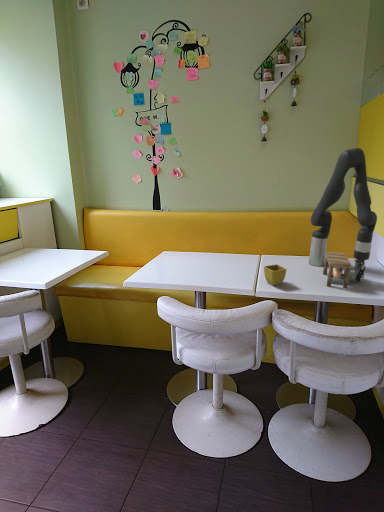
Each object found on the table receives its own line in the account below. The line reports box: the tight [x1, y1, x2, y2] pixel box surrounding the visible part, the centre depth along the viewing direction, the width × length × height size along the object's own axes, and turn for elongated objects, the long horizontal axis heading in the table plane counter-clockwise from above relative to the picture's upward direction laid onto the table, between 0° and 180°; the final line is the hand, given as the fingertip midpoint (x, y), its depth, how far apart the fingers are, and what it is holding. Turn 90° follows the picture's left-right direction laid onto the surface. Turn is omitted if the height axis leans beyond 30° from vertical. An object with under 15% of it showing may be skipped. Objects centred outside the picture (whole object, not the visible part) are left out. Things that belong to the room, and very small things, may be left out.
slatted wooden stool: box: [322, 251, 352, 289], centre depth 185 cm, size 20×10×13 cm, turn 166°
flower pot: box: [263, 264, 288, 286], centre depth 181 cm, size 9×9×9 cm
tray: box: [331, 267, 365, 285], centre depth 185 cm, size 10×17×6 cm, turn 76°
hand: (357, 280), depth 184 cm, fingers closed on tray, 2 cm apart
